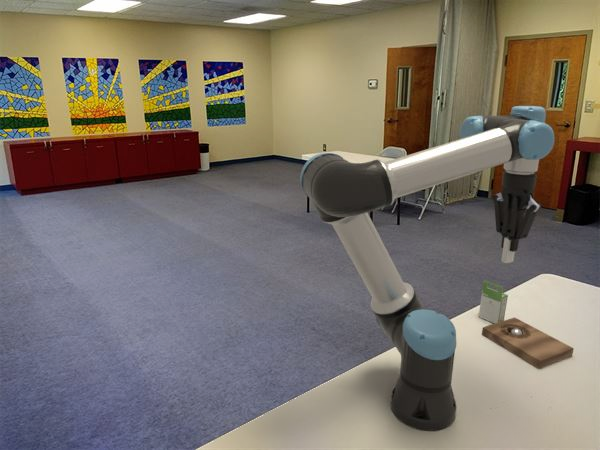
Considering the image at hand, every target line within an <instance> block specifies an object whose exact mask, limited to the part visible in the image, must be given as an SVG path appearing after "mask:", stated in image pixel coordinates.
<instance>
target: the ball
mask: <svg viewBox="0 0 600 450" xmlns="http://www.w3.org/2000/svg"><path fill="white" fill-rule="evenodd" d="M510 333H511V334H514V335H522V331H521V330H520V329H517V328H515V329H512V330H511V332H510Z"/></svg>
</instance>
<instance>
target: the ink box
mask: <svg viewBox="0 0 600 450" xmlns="http://www.w3.org/2000/svg"><path fill="white" fill-rule="evenodd" d="M491 287H493V288H495V289H493V288H491ZM503 291H504V287H503V286H500V285H498V284H495V283H491V282H490V281H486V280H483V284H482V290H481V297H480V303H479V304H480V305H479V311H478V312H479V313H478V318H479V319H480V318H481V319H483V320H486V321H487V322H489V323H492V324H495V323H498V322H501V321H505V316H506V311H507V303H508V298H509V294H507V293H504V292H503Z"/></svg>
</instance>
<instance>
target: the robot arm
mask: <svg viewBox="0 0 600 450" xmlns="http://www.w3.org/2000/svg"><path fill="white" fill-rule="evenodd" d="M546 113H547V112H546V109H545V108H544V107H542V106H538V105H537V106H536V105H518V106H517V105H516V106H513V107H512V108H511V110H510V113H509V114H508V115H507V114H506V115H474V116H468V117H466V118H465V119H464V120H463V121H462V123H461V126H460V132H459V137H460V138H459V139H457V140H453V141H450V142H447V143H443V144H440V145H437V146H433V147H430V148H427V149H423V150H420V151H417V152H414V153H411V154H407V155H404V156H401V157H398V158H394V159H391V160H387V161H382V160H380V159H372V160H370V161H366V162H361V163H360V162H359V163H358V162H357V163H356V162H351V161H349V160H347V159H345V158H344V157H342V156H341V155H339V154H337V153H332V152H322V153H321V152H320V153H318V154H317V153H316V154H315V155H313V156H312V157H310V158H309V159H308V160H307V161H306V162H305V163H304V165H303V167H302V169H301V172H300V175H299V177H300V184H301V185H300V187H301V188H302V192H303V193H304V194H305V196H307V197H308V198H309V200H310V202H311V203H312V204H313V207H314V208H315V210H316V212H317V214H318V215H319V217H320V219H321V220H322V222H323V223H325V224H329V225H332V227H333V229H334V231H335V233H336V234H337V236H338V238H339V240H340V242H341V243H342V245H343V248H344V249H345V250H346V253H347V254H348V256H349V258H350V260H351V262H352V263H353V265H354V267H355V269H356V270H357V272H358V274H359V276H360V279H362V282H363V283H364V285H365V287H366V288H367V290H368V292H369V294H370V296H371V301H370V308H371V310H372V312H373V313H374V317H375V320H376V323H377V324H378V326H379V328H380V329H381V330H383V332H384V333H385V334H386V337H388V338H389V340H390V341H391V342H392V345H394V347H395V348H396V350H397V351H398V352H399V354H400V357H401V358H400V359H401V360H400V370H399V371H400V373H399V377H398V380H396V384H395V386H394V388H393V389H392V391H391V396H390V408H391V411H392V413H393V415H394V416H395V417H396V418H397V419H398V420H399V421H401V423H404V424H405V425H408V426H410V427H412V428H414V429H418V430H424V431H439V430H442V429H446V428H447V427H449V426H451V424H453V422H454V421H455V419H456V414H457V402H456V399H455V394H454V392H453V387H452V377H453V370H454V361H455V352H456V348H457V331H456V330H457V329H456V327H455V325H454V323H453V322H452V321H451V320H450V318H448V317H447V316H446V315H444V314H442V313H437V311H435V310H431V309H425V308H424V306H423V304H422V303H421V301H420V299H419V297H418V295H417V293H416V291H415V289H414V287H413V286H412V285H411V284H410V283H408V282H404V281H403V278H402V277H401V275H400V273H399V271H398V270H397V268H396V265H395V264H394V262H393V260H392V258H391V255H390V254H389V251H388V249H387V248H386V246H385V244H384V242H383V240H382V238H381V236H380V235H379V232H378V230H377V229H376V227H375V225H374V223H373V220H372V218H371V217H370V215H369V213H370V212H374V211H377V210H380V209H384V208H386V207H390V206H392V205H393V204H394V201H395V199H398V198H400V197H404V196H407V195H410V194H414V193H417V192H420V191H423V190H425V189H428V188H432V187H435V186H438V185H442V184H444V183H445V184H446V182H447V183H448V182H450V181H454V180H457V179H460V178H464V177H466V176H469V175H472V174H475V173H478V172H482V171H485V170H488V169H492V168H494V167H497V166H501V165H503V169H504V171H503V172H502V176H501V177H502V180H501V186H502V189H501V190H500V192H498V193H496V194H492V196H491V198H492V201H493V204H494V215H495V219H494V220H495V229H496V230H495V231H496V233H500V234H501V236H502V237H501V238H502V239H501V248H502V254H501V263H504V264H509V263H512V262H513V263H514V260H515V253H516V251H518V248H519V241H520V240H524V239H526V238H528V235H529V233H530V230H531V228H532V226H533V223H534V221H535V218H536V216H537V213H539V211H540V210H541V209H542V205H543V204H541V203H537V202H536V201H535V199H534V197H535V195H534V192H533V191H534V189H535V188H536V183H537V177H538V175H537V173H536V172H538V169H539V163H540V159H541V160H542V159H543V158H545V157H546V156H548V155H549V153H550V152H551V151H552V150H553V147H554V145H555V141H556V140H555V133H554V130H553V128H552V127H551V126H550V125H549V124H548V123H546V117H547V116H546V115H547V114H546Z"/></svg>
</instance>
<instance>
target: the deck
mask: <svg viewBox="0 0 600 450" xmlns="http://www.w3.org/2000/svg"><path fill="white" fill-rule="evenodd" d="M515 328H517V329H520V330H521V331H522V335H514V334H511V333H510V332H511V330H512V329H515ZM481 335H482V336H484V337H485V338H488V339H489V340H491V342H494V343H495V344H497V345H498V346H500V347H502V348H503V349H505V350H507V351H508V352H510V353H511V354H513V355H515V356H516V357H519V358H520V359H521V360H523V361H525V362H526V363H528V364H530V365H532V366H533V367H535V368H536V369H538V370H540V369H542V368H544V367H547V366H550V365H552V364H556V363H557V362H560V361H562V360H566V359H568V358H570V357H573V355H574V347H573V346H570V345H568V344H566V343H564V342H562V341H560V340H559V339H557V338H555V337H553V336H551V335H549V334H548V333H545V332H543V331H541V330H540V329H538V328H536V327H534V326H532V325H531V324H528V323H526V322H524V321H523V320H520V319H518V318H517V317H512V318H508V319H504V321H501V322H498V323H495V324H494V323H492V324H489V325H485V326H482V330H481Z"/></svg>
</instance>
